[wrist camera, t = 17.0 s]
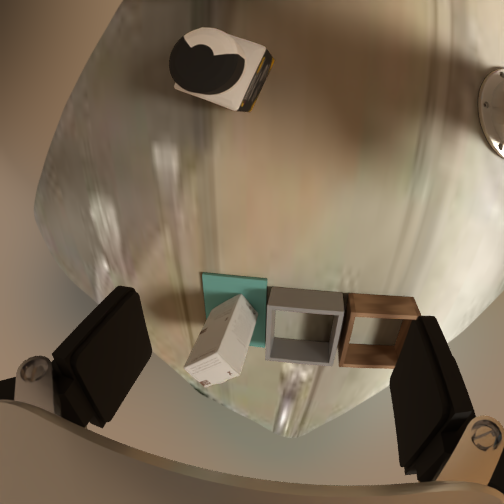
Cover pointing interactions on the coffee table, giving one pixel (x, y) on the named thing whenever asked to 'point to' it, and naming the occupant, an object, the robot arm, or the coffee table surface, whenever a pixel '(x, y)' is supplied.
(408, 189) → the coffee table surface
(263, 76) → the medicine bottle
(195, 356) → the skincare box
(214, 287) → the teal pad
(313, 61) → the coffee table surface
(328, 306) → the grey bin
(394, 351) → the walnut bin
